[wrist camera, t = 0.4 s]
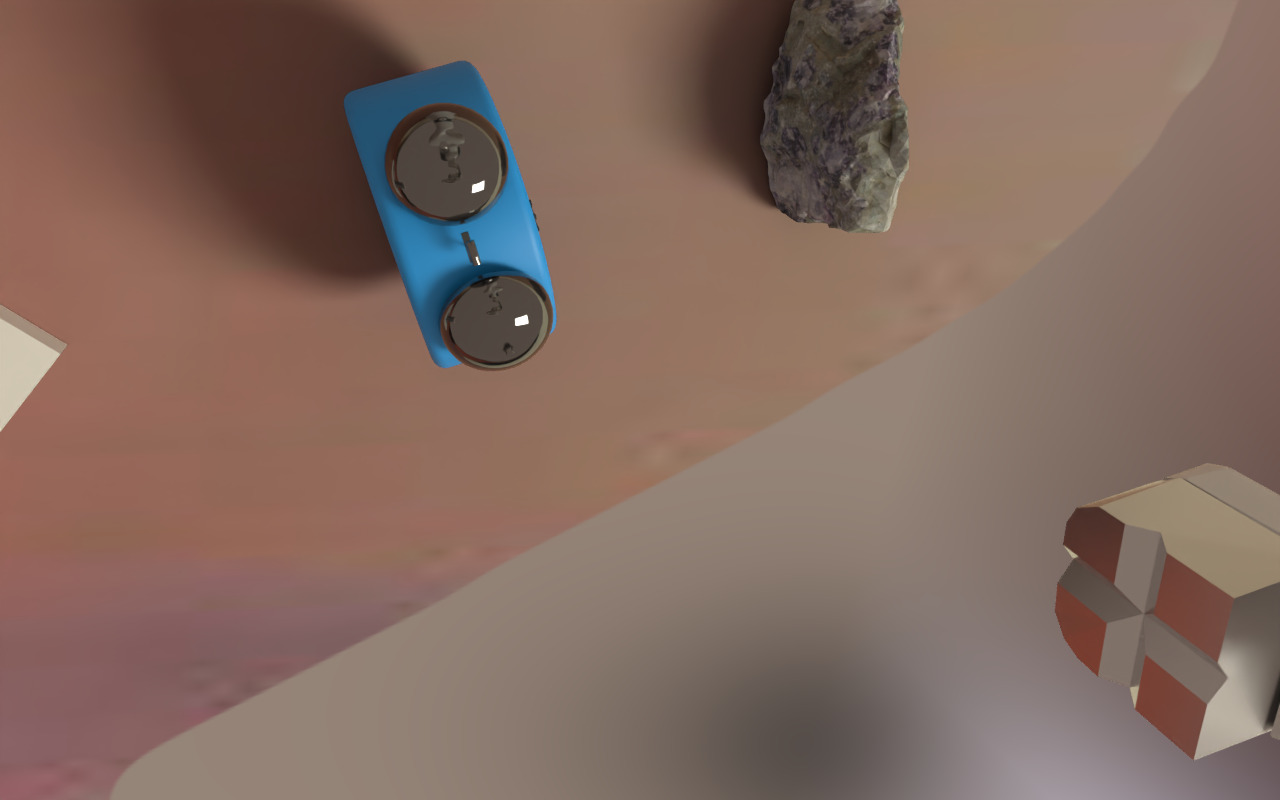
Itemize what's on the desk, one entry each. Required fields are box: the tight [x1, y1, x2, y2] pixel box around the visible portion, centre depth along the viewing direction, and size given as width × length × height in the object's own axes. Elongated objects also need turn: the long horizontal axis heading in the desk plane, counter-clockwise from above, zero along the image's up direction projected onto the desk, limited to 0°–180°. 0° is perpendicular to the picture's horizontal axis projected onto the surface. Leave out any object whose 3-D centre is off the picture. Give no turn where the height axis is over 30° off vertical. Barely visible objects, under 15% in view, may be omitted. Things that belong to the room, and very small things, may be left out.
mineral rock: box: [760, 0, 909, 233], centre depth 52 cm, size 13×11×10 cm
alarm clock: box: [344, 61, 556, 371], centre depth 46 cm, size 13×6×15 cm, turn 14°
